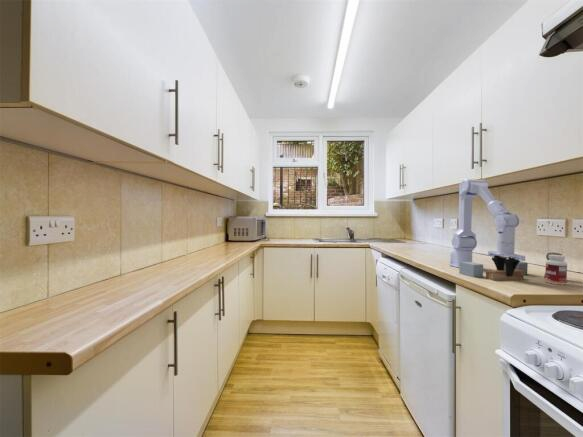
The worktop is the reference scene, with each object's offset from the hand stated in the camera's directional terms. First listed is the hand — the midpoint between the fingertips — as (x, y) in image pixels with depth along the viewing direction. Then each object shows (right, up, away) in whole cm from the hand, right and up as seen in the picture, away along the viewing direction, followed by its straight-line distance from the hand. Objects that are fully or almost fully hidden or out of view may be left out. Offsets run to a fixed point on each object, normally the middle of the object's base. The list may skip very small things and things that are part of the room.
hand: (504, 275), depth 118 cm
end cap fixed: (+14, -1, +12) cm, 18 cm away
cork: (+21, -2, +1) cm, 21 cm away
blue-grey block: (-10, -1, +6) cm, 12 cm away
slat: (0, -2, 0) cm, 2 cm away
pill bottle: (+15, -2, -7) cm, 16 cm away
